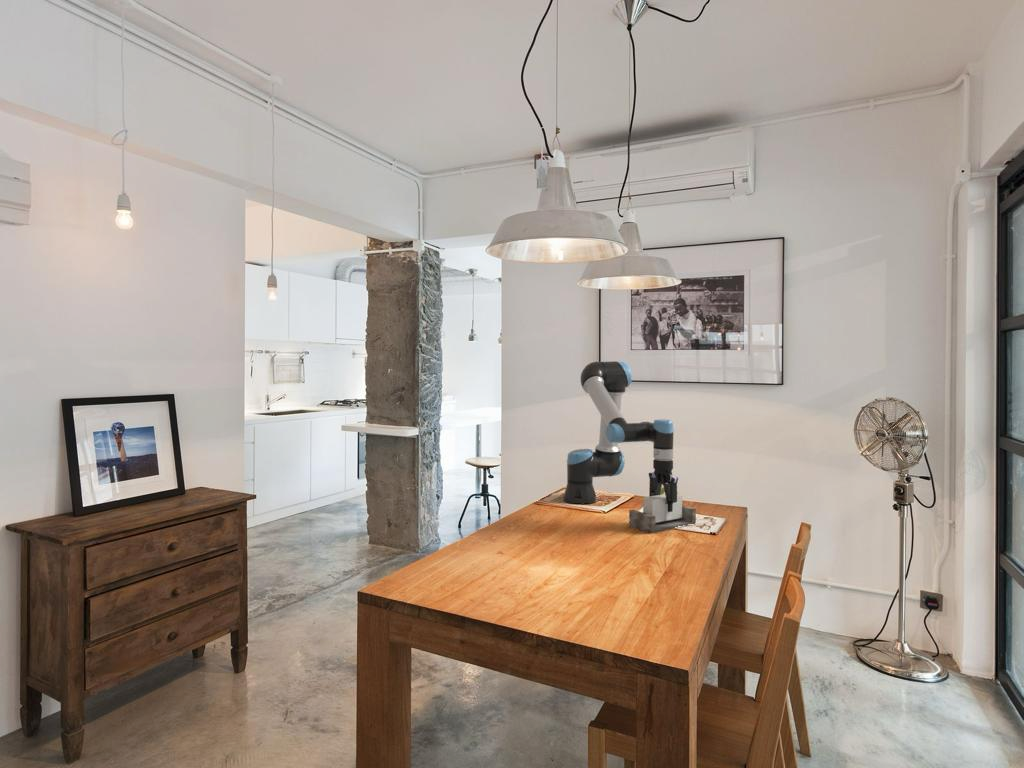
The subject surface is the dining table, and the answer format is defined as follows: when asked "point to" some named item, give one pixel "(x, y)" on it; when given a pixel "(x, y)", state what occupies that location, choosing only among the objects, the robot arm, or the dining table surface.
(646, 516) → the cradle rack
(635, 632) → the dining table surface
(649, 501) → the light grey block
